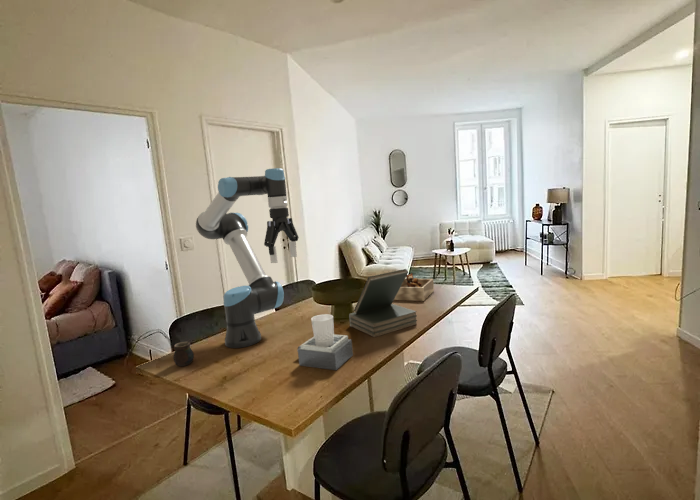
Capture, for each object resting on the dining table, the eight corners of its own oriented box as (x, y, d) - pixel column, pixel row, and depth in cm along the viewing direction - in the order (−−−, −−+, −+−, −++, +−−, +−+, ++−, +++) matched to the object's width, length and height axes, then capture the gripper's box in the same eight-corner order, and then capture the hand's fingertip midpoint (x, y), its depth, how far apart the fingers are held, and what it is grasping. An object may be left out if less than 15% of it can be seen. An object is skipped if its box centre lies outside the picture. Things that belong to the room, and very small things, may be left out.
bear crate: (386, 299, 217) (385, 287, 216) (399, 289, 236) (398, 278, 235) (423, 300, 208) (423, 287, 207) (433, 290, 226) (433, 278, 225)
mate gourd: (179, 360, 155) (176, 336, 154) (198, 359, 155) (195, 335, 154) (170, 368, 148) (167, 343, 147) (190, 367, 148) (187, 341, 146)
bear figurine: (405, 299, 214) (404, 277, 213) (400, 293, 229) (399, 272, 227) (430, 297, 215) (429, 275, 213) (424, 290, 230) (422, 270, 228)
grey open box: (290, 364, 142) (287, 344, 141) (309, 350, 154) (307, 331, 153) (336, 370, 134) (334, 349, 133) (353, 355, 145) (351, 335, 144)
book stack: (391, 315, 189) (387, 264, 186) (417, 325, 172) (413, 269, 169) (350, 326, 178) (344, 272, 175) (374, 338, 161) (368, 278, 158)
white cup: (332, 348, 137) (330, 320, 136) (311, 348, 139) (308, 321, 138) (338, 340, 145) (335, 313, 144) (317, 340, 147) (314, 314, 145)
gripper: (266, 209, 146) (273, 265, 148) (303, 205, 168) (308, 254, 171) (250, 210, 149) (257, 265, 152) (288, 206, 171) (294, 254, 174)
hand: (284, 259), depth 161 cm, fingers open, 13 cm apart
